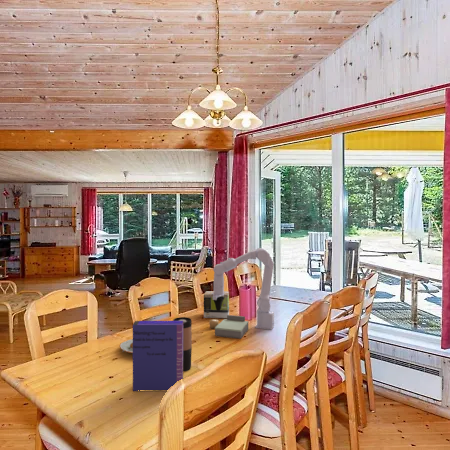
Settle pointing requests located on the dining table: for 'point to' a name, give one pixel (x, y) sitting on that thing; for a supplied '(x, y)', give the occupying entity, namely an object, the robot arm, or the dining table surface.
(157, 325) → the purple book
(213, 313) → the tea box
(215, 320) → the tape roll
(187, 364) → the travel mug
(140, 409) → the dining table surface
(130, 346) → the food on plate
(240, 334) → the box
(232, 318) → the lid
